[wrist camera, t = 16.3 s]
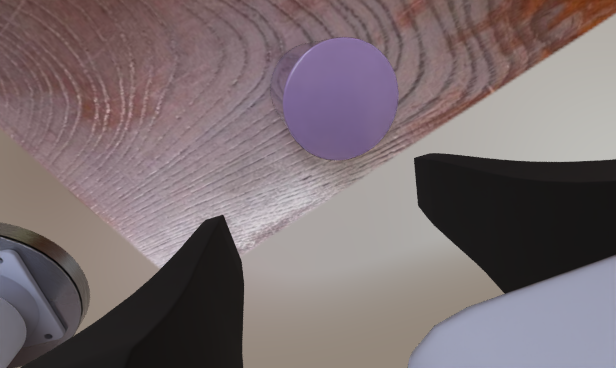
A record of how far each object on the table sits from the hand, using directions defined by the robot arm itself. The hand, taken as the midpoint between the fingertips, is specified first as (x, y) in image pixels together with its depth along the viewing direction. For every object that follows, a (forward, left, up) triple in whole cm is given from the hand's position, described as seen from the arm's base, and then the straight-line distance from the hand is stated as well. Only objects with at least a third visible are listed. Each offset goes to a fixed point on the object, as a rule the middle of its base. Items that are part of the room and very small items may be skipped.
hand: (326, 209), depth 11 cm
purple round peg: (+2, +3, -9) cm, 10 cm away
